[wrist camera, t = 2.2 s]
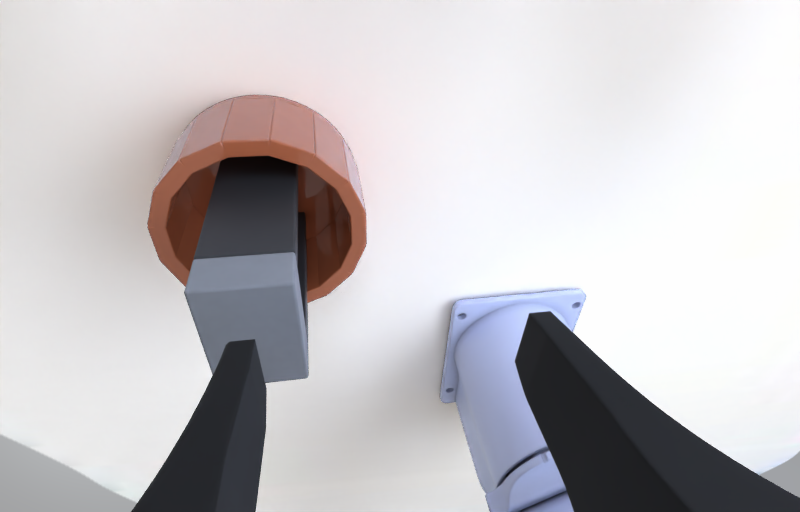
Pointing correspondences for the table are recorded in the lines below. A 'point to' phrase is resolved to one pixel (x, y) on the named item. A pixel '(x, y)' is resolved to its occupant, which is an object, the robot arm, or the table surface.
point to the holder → (280, 138)
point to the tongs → (253, 267)
